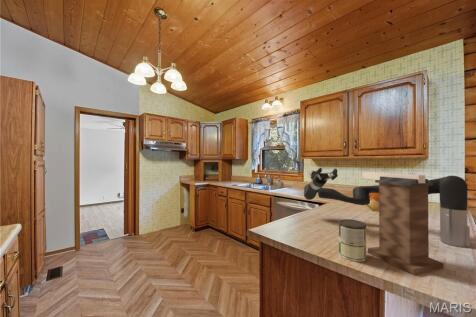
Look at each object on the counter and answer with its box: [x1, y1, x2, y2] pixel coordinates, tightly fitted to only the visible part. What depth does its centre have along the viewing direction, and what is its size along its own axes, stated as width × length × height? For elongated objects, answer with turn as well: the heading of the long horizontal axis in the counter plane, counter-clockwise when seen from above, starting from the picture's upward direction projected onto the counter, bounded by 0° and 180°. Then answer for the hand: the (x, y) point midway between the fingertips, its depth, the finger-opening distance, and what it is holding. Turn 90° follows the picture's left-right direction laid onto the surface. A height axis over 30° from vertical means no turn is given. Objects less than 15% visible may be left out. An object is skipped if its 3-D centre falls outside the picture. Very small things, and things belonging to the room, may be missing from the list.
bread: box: [366, 193, 379, 213], centre depth 174 cm, size 25×12×15 cm, turn 157°
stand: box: [367, 177, 445, 276], centre depth 83 cm, size 18×16×34 cm
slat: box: [362, 171, 426, 183], centre depth 88 cm, size 24×4×3 cm, turn 16°
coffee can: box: [338, 218, 367, 263], centre depth 86 cm, size 10×10×14 cm
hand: (328, 169), depth 114 cm, fingers open, 8 cm apart
